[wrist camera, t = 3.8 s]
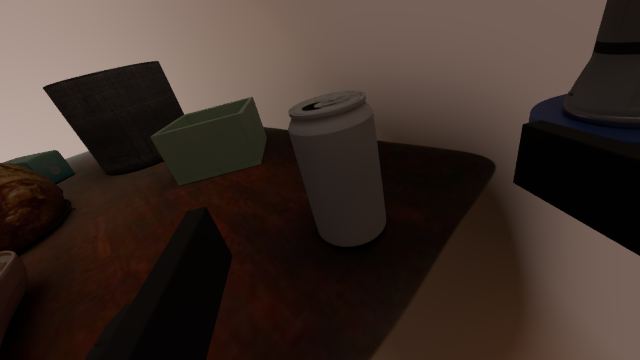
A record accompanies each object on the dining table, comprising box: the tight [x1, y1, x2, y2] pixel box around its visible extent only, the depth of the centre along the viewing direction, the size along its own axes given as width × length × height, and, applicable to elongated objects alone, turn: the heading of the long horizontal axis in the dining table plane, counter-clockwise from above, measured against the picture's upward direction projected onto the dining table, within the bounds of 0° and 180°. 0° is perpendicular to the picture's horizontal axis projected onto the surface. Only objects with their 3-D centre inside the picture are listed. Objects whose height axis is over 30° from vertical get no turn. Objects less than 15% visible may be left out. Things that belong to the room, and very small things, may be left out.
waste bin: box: [150, 97, 267, 186], centre depth 47 cm, size 15×15×9 cm
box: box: [4, 150, 74, 184], centre depth 63 cm, size 7×14×8 cm, turn 85°
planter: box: [43, 61, 184, 174], centre depth 61 cm, size 22×22×20 cm
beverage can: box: [288, 91, 386, 247], centre depth 21 cm, size 6×6×12 cm
